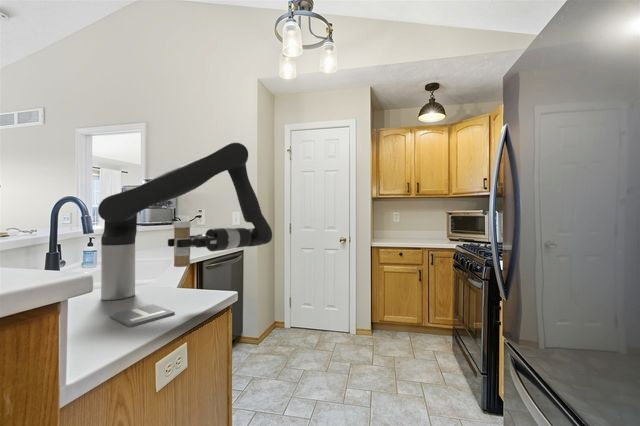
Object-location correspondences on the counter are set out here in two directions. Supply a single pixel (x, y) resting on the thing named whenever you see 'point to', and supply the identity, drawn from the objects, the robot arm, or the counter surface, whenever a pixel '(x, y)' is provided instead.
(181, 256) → the spice jar
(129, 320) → the letter mat
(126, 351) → the counter surface
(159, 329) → the counter surface
